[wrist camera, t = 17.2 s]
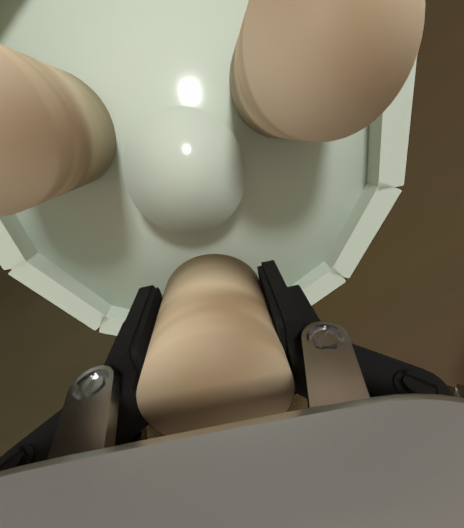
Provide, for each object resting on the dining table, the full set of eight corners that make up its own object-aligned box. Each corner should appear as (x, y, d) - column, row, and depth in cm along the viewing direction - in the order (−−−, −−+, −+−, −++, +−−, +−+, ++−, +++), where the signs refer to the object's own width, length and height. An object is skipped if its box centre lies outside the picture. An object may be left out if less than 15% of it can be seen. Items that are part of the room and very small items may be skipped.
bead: (272, 160, 12) (308, 176, 8) (206, 71, 11) (204, 26, 6) (354, 85, 11) (451, 55, 7) (296, -26, 9) (373, -167, 5)
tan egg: (108, 197, 12) (52, 234, 8) (3, 166, 11) (-127, 189, 7) (123, 93, 11) (61, 65, 6) (0, 46, 10) (-178, -26, 5)
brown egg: (282, 283, 12) (326, 375, 7) (229, 348, 13) (238, 458, 9) (195, 234, 10) (185, 310, 6) (147, 313, 12) (110, 421, 7)
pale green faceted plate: (190, 367, 19) (187, 398, 17) (-119, 149, 12) (-196, 154, 9) (441, 184, 14) (484, 194, 12) (188, -367, 7) (178, -600, 5)
